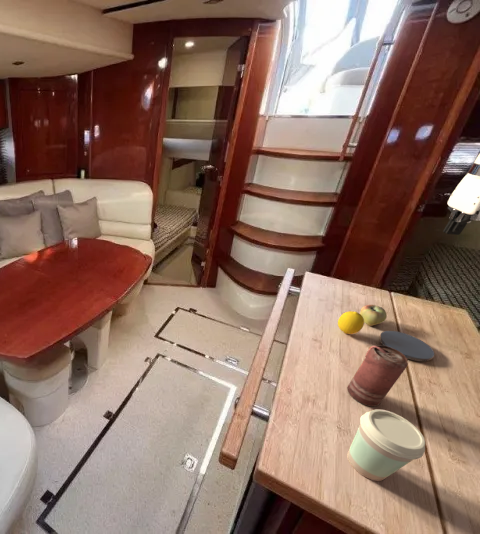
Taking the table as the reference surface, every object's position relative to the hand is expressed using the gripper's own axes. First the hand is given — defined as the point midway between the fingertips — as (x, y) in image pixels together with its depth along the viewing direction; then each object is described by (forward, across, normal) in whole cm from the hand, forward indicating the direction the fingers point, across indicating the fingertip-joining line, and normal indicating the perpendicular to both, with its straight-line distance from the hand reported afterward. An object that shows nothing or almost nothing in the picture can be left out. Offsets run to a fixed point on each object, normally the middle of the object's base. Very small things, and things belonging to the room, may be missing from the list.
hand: (451, 233), depth 92 cm
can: (+25, -48, +34) cm, 64 cm away
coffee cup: (+25, -66, +41) cm, 82 cm away
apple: (+25, -16, +19) cm, 35 cm away
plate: (+25, -27, +15) cm, 40 cm away
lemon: (+25, -24, +28) cm, 45 cm away
